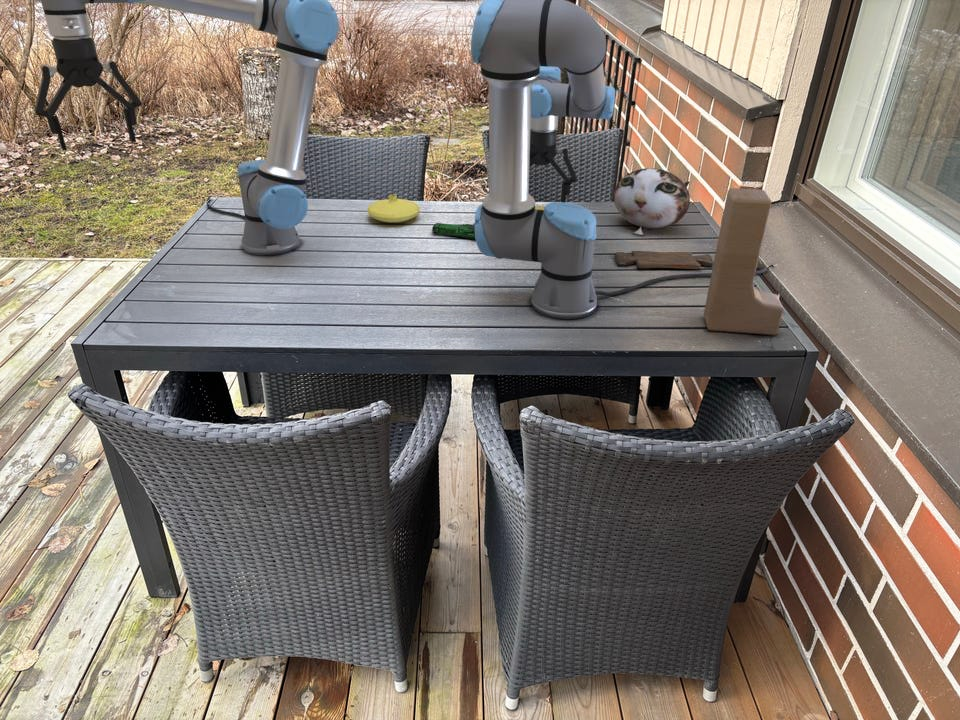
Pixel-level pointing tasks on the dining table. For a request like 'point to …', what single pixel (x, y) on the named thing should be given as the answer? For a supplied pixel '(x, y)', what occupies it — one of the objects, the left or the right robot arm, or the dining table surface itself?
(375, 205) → the yellow pot lid
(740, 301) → the decorative block
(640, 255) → the wooden paddle board
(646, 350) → the dining table surface
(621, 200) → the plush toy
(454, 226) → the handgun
